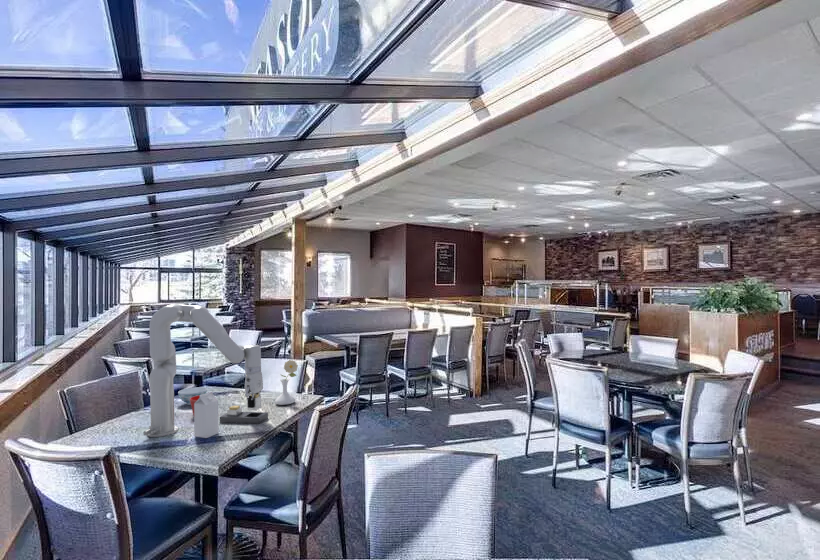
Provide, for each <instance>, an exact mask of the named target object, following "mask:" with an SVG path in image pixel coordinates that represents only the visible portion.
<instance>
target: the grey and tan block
mask: <svg viewBox="0 0 820 560" xmlns="http://www.w3.org/2000/svg"><path fill="white" fill-rule="evenodd" d="M251 397H252V395H251ZM253 399H254V408H248V400H247V399H246V411H254V412H257V411H258V410H260V409H261V408H262V395H260V396H259V394H254V398H253Z"/></svg>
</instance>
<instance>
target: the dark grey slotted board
mask: <svg viewBox="0 0 820 560" xmlns="http://www.w3.org/2000/svg"><path fill="white" fill-rule="evenodd" d="M268 419H269V412H264V411H261V412H259V411H242V414H241V415H239V416H227V412H226V413H224V414H222V415H221V416H219V423H220V424H240V425H241V424H243V425H245V424H247V425H261V424H262V423H263V422H265V421H266V420H268Z"/></svg>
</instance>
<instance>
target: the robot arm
mask: <svg viewBox="0 0 820 560" xmlns="http://www.w3.org/2000/svg"><path fill="white" fill-rule="evenodd" d="M175 322H181V323H182V322H183V323H192V324H193V325H194V326H195V327H196V328H197V329H198V330H199V331H200V332H201V333H202V334H203V335H204V336H205V337H206V338H207V339H208V340H209V341H210V342H211V344H213V345H214V346H215V348H217V350H219V352H220V353H221V354H222V355H223V356H224V357H225V358H226V359H227V360H228V361H229V362H230V363H233V364H239V363H241V362H243V360H244V366H245V367H244V372H245V377H244V378H245V380H244V392H245V394H244V396H245V398H246V401H247V400H248V408H254V399H253V398H254V394H259V396H261V392H262V390H263V389H264V381H263V380H264V379H263V373H262V351H261V350H262V347H261V346H260V345H258V344H251V345H250V344H249V345H238V344H237V343H236V342H235V340H233V338H232V337H231V336H230V335H229V334H228V332H227V330H226V328H225V327H224V326H223V325H222V324H221V323H220V322H219V321H218V320H217V319H216V318H215V317H214V316H213V315H212V314H211V312H210V311H209V309H208V308H207V307H205V306H203V305H192V304H191V305H189V304H179V303H171V304H168V305H165V306H163V307H161V308H159V309H158V310H156V311H155V312H154V314H153V315H152V316H151V318H150V321H149V330H148V331H149V355H150V356H149V357H150V358H151V359H152V361H153V368H152V370H151V371H150V374H149V377H148V382H149V391H150V392H149V395H150V397H149V398H150V399H149V400H150V403H149V404H150V425H149V426H148V427H149V428H148V429H146V430H144V431H143V433H142V434H143V435H144V436H147V437H150V438H159V437H166V436H170V435H172V434H175V433H177V432H178V431H179V427H178V426H176V425H175V388H174V377H175V376H176V375H177V357H176V356H177V355H176V346H175V344H174V343H173V342H172V339H171V333H172V332H171V325H172V324H173V323H175ZM251 395H252V397H251Z"/></svg>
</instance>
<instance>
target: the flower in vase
mask: <svg viewBox="0 0 820 560" xmlns="http://www.w3.org/2000/svg"><path fill="white" fill-rule="evenodd" d="M283 369H284V371H285V372H286V373H288V374H287V376H286V375H285V374H284V375H282V374H280V376H281V377H284V378H282V379H280V382H281V384H282V393H281V394H279V396H278V397H276V398H275V400H274V403H275V404H276V405H280V406H285V405H290V404H293V403H295V402H296V398H295V397H294V396H293V395H292V394H290V393H289V392H288V383H289V381H290V379H289V378H288V377H290V378H295V377H297V374H296V373H295V372H296V371H298V369H299V368H298V364H297V362H296V361H295V360H293V359H292V360H291V359H289V360H287V361H286V362H284V365H283Z"/></svg>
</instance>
